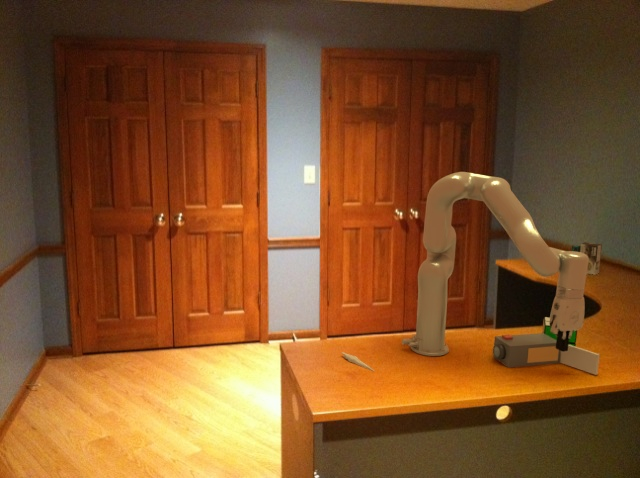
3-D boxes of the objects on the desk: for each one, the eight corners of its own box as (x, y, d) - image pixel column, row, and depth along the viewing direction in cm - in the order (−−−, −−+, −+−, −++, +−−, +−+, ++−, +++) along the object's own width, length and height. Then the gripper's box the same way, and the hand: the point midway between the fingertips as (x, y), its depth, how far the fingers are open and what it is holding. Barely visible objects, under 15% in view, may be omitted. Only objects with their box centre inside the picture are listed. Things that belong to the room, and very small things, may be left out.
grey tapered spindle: (338, 357, 184) (339, 351, 184) (344, 355, 186) (345, 350, 186) (370, 374, 173) (371, 369, 173) (377, 372, 175) (377, 367, 174)
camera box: (503, 368, 178) (505, 344, 177) (488, 357, 187) (489, 334, 186) (558, 363, 183) (561, 340, 182) (541, 353, 192) (543, 330, 191)
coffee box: (599, 273, 311) (602, 244, 308) (595, 275, 307) (598, 245, 304) (581, 270, 317) (585, 241, 315) (577, 272, 313) (580, 243, 310)
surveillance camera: (566, 242, 334) (583, 245, 327) (564, 262, 337) (580, 266, 329) (561, 243, 331) (578, 246, 323) (559, 264, 333) (575, 267, 325)
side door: (598, 374, 175) (600, 353, 174) (595, 375, 174) (597, 354, 173) (560, 361, 185) (562, 341, 184) (557, 362, 184) (559, 342, 183)
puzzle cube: (572, 347, 198) (574, 320, 196) (574, 358, 189) (577, 329, 187) (541, 343, 201) (543, 316, 199) (542, 353, 192) (544, 325, 190)
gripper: (562, 298, 166) (553, 357, 170) (597, 294, 173) (588, 351, 176) (542, 290, 173) (534, 348, 176) (576, 287, 179) (568, 342, 183)
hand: (561, 349), depth 176 cm, fingers closed
